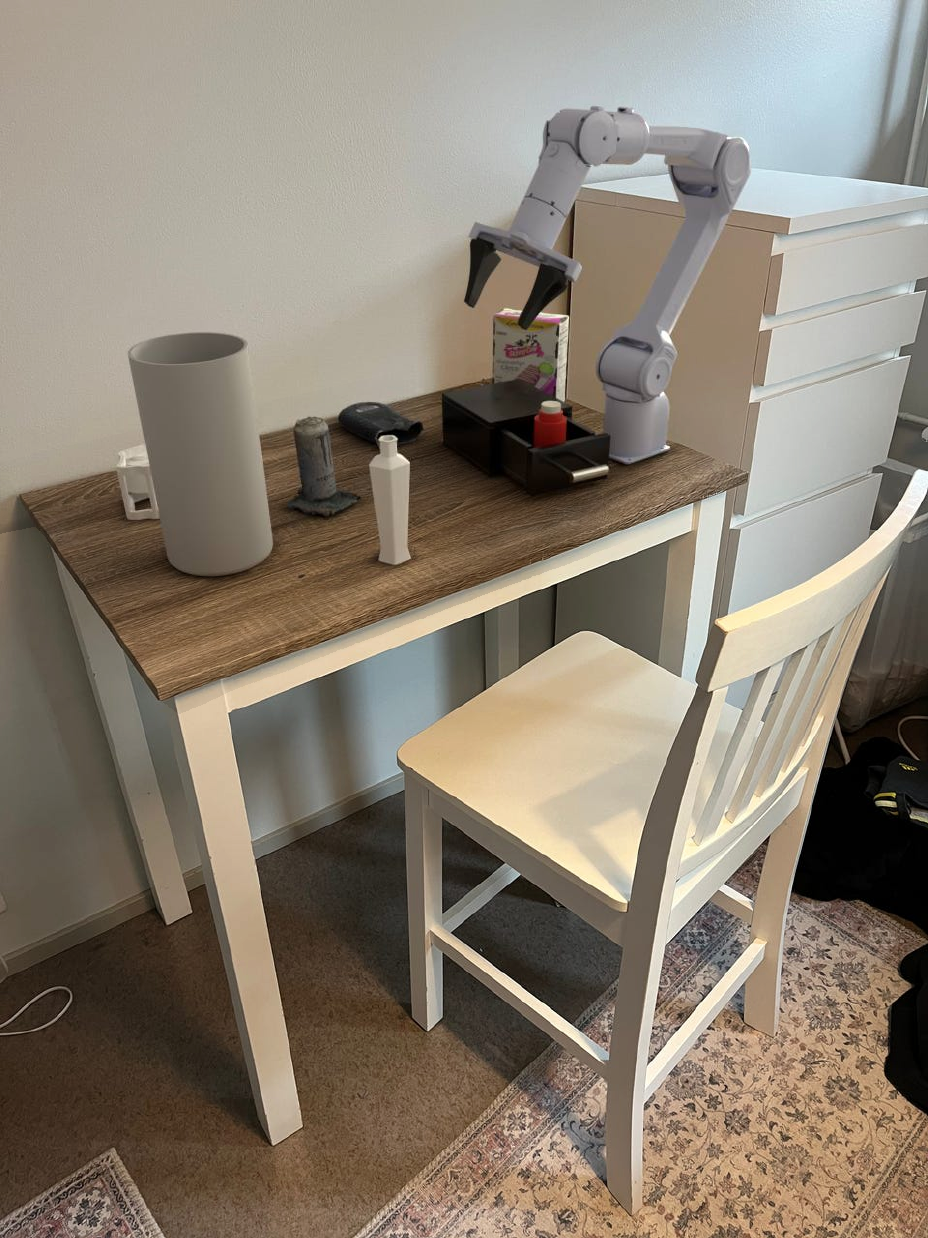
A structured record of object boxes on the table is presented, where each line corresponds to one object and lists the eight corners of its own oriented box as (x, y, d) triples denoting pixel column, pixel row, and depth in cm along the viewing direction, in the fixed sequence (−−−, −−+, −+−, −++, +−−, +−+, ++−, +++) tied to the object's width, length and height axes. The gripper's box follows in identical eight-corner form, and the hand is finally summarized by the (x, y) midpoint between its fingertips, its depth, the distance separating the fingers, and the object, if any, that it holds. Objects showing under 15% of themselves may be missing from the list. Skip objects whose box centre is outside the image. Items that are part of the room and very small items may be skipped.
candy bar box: (490, 416, 156) (491, 314, 147) (502, 406, 160) (503, 307, 151) (555, 425, 152) (559, 321, 143) (565, 415, 156) (570, 313, 147)
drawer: (627, 490, 128) (631, 446, 124) (550, 510, 123) (552, 464, 120) (554, 447, 141) (556, 406, 138) (481, 462, 137) (481, 420, 133)
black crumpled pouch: (428, 445, 149) (378, 407, 158) (426, 414, 145) (374, 377, 154) (378, 466, 145) (329, 426, 154) (374, 435, 141) (324, 395, 150)
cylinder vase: (279, 570, 111) (253, 358, 98) (169, 586, 108) (127, 369, 95) (267, 525, 122) (241, 328, 108) (166, 538, 119) (128, 337, 106)
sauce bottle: (549, 457, 135) (552, 396, 130) (570, 467, 132) (574, 404, 127) (526, 465, 133) (528, 403, 128) (547, 475, 130) (550, 411, 125)
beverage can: (281, 512, 125) (270, 425, 119) (308, 490, 131) (300, 406, 125) (343, 522, 122) (335, 433, 116) (368, 499, 128) (362, 413, 122)
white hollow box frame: (246, 464, 139) (239, 416, 135) (277, 490, 131) (270, 439, 127) (108, 496, 130) (97, 445, 126) (132, 526, 122) (121, 472, 118)
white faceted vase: (408, 567, 112) (403, 447, 104) (373, 564, 112) (364, 444, 105) (418, 550, 116) (413, 432, 108) (383, 547, 116) (376, 430, 108)
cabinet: (569, 459, 140) (572, 406, 135) (489, 477, 134) (489, 422, 130) (518, 428, 151) (519, 378, 146) (442, 444, 145) (441, 392, 141)
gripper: (482, 175, 112) (433, 283, 114) (590, 215, 108) (537, 327, 110) (500, 201, 119) (453, 302, 121) (602, 239, 114) (552, 344, 116)
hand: (494, 315), depth 116 cm, fingers open, 7 cm apart
